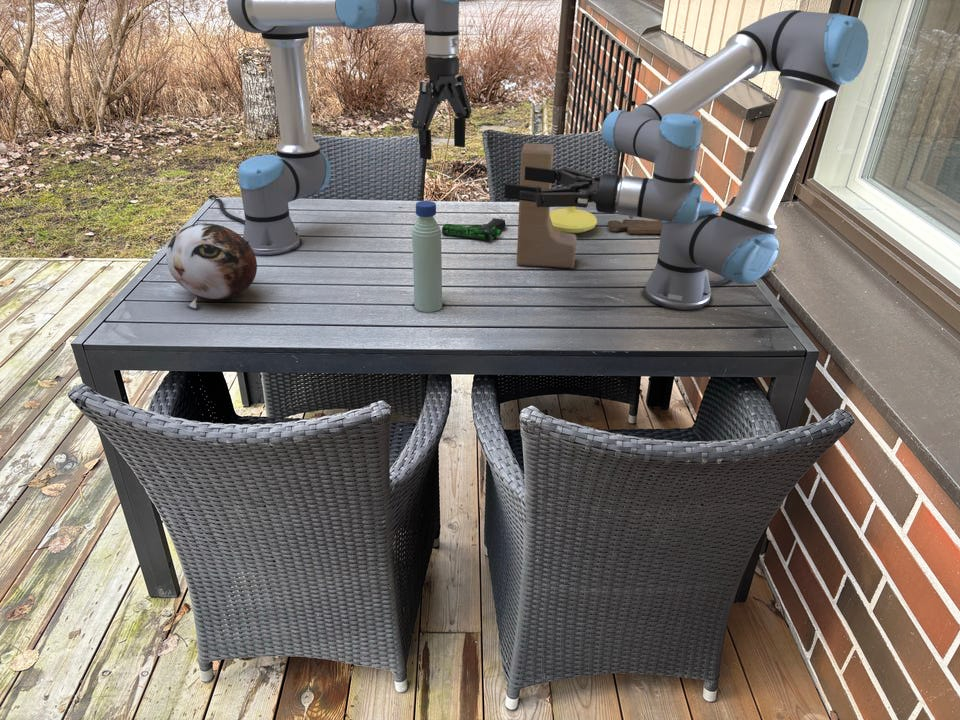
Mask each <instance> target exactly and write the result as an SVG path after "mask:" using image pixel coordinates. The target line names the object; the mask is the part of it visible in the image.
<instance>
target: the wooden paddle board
mask: <svg viewBox="0 0 960 720" xmlns="http://www.w3.org/2000/svg"><path fill="white" fill-rule="evenodd" d="M607 224H608V229H609V231H610V232H613V233H615V232H616V233H617V232H623V231H627V234H629V235H641V234H655V235H656V234H657V235H659V234H660V235H661V230H662V221H661V220H649V219H648V220H647V219H623V220H622V222H621V221H619V220H615V219H614V220H608V221H607Z"/></svg>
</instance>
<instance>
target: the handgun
mask: <svg viewBox="0 0 960 720" xmlns="http://www.w3.org/2000/svg"><path fill="white" fill-rule="evenodd" d="M505 228H506V220H505V219H503V218H497V217H492V219H491V220H490V221H489V222H488V223H483V224H482V225H479V224H472V225H459V224H453V223H445V224H443V226H442V227H441V235H446V236H454V237H462V238H469V239H470V238H471V239H474V240H479V241H484V242H491V241H492V240H494V239H495V238H497V237H500V236H502V230H504V229H505Z"/></svg>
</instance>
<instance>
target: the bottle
mask: <svg viewBox="0 0 960 720" xmlns="http://www.w3.org/2000/svg"><path fill="white" fill-rule="evenodd" d="M411 243H412V266H413V267H412V269H413V270H412V271H413V272H412V273H413V274H412V275H413V295H414V298H413V299H414V300H413V301H414V309H416V311H419V312H423V313H433V312H437V311H439V310H441V309H442V308H443V270H442V269H443V267H442V265H443V264H442V262H443V261H442V258H443V257H442V229H441V227H440V225H439V223H438V222H437V221H436V219H435V217H434V216H432V217H420V216H418V218H417V220H416V221H415V223H414V225H413V227H412V230H411Z"/></svg>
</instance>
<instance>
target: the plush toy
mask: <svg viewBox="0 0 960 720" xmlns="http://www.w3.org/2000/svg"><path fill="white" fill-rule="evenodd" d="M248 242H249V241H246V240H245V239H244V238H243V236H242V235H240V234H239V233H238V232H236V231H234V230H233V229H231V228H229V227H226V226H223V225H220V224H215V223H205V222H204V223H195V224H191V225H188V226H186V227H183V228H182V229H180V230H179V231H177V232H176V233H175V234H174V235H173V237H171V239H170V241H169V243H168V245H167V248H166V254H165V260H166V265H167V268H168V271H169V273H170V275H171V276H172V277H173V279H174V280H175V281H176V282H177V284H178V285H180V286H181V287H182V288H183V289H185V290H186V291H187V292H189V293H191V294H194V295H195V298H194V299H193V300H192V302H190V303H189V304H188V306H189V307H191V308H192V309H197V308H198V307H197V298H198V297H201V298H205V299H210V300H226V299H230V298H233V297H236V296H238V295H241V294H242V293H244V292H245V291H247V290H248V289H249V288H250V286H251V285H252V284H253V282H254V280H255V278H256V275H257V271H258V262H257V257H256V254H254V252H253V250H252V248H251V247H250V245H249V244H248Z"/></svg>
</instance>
